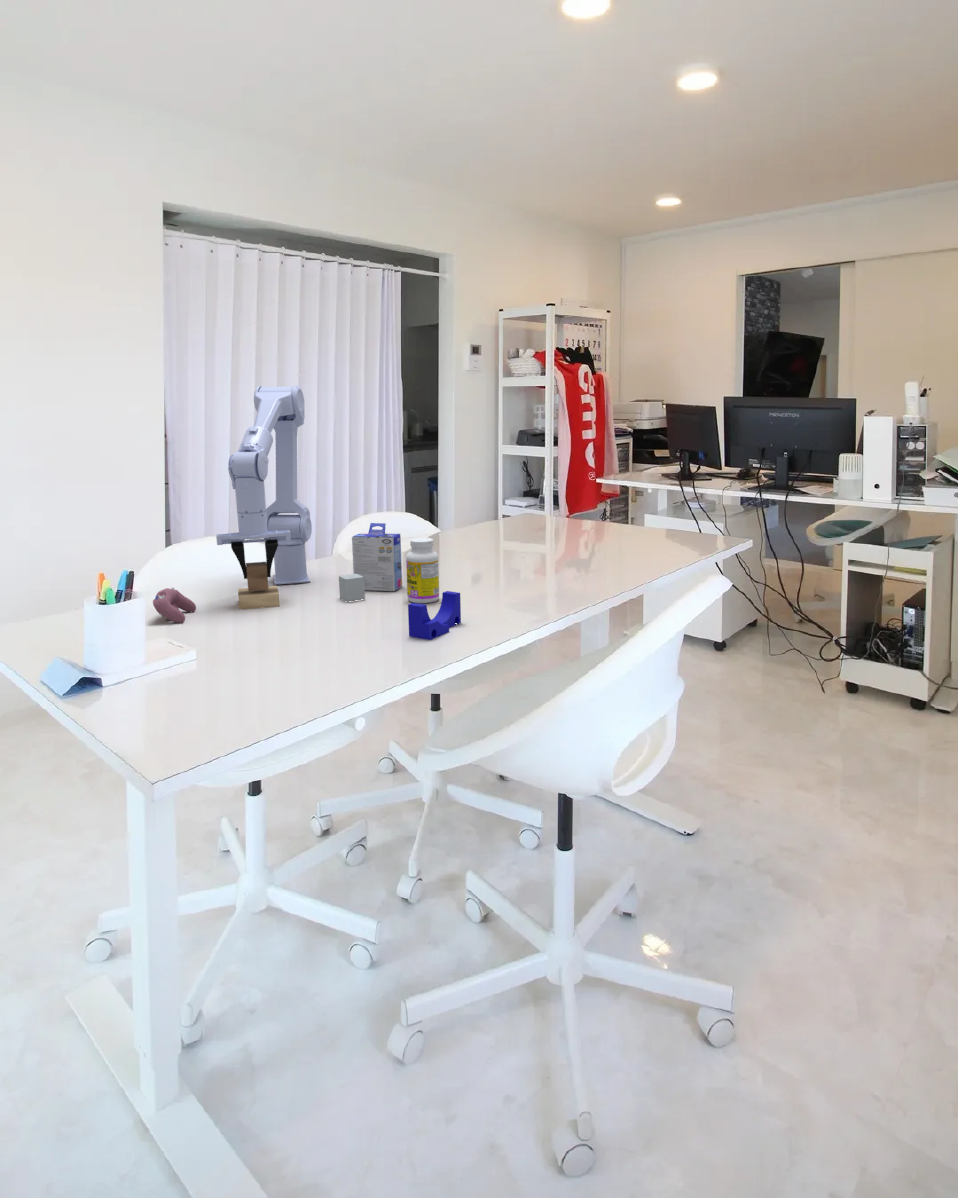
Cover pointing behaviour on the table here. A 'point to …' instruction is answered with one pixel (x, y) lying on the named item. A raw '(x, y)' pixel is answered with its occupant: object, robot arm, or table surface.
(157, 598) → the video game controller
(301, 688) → the table surface
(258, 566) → the walnut block
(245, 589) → the oak slab
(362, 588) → the grey block
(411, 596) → the supplement bottle
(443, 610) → the blue cradle holder
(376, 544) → the ink cartridge box
